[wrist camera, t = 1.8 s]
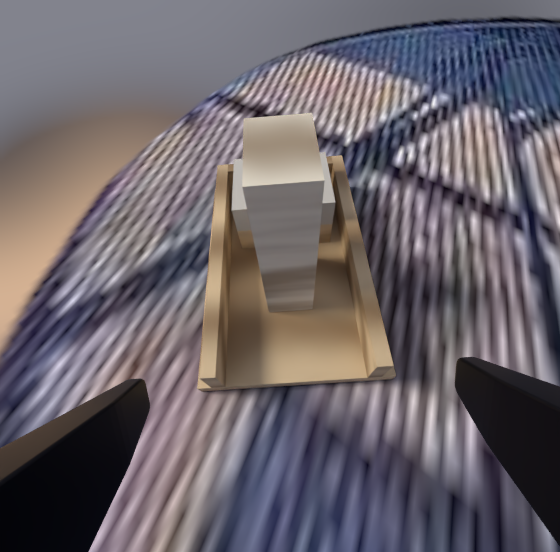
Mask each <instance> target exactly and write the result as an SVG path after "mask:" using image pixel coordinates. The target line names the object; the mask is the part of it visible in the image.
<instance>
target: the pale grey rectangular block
mask: <svg viewBox="0 0 560 552" xmlns="http://www.w3.org/2000/svg"><path fill="white" fill-rule="evenodd" d="M324 181H325V180H324V175H323V169H322V164H321V159H320V153H319V148H318V143H317V137H316V132H315V127H314V121H313V116H312V113H306V114H294V115H282V116H270V117H258V118H246V119H244V128H243V174H242V188H243V193H244V198H245V202H246V207H247V212H248V216H249V221H250V226H251V230H252V235H253V240H254V245H255V249H256V254H257V259H258V263H259V268H260V273H261V278H262V282H263V287H264V292H265V296H266V301H267V306H268V311H269V312H281V311H295V310H309V309H313V300H314V289H315V278H316V267H317V257H318V246H319V235H320V224H321V214H322V203H323V192H324Z"/></svg>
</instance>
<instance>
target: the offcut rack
mask: <svg viewBox="0 0 560 552" xmlns="http://www.w3.org/2000/svg"><path fill="white" fill-rule="evenodd" d="M326 158H327V163H328V168H329V173H330V178H331V183H332V188H333V193H334V198H335V209H334V216H333V223H332V230H331V237H330V242H327V243H319V246H318V257H317V267H316V278H315V289H314V300H313V309H309V310H295V311H281V312H269V311H268V306H267V301H266V296H265V292H264V287H263V282H262V278H261V273H260V268H259V263H258V259H257V254H256V249H255V248H246V249H242V246H241V243H240V239H239V235H238V232H237V228H236V224H235V221H234V217H233V214H232V190H233V168H234V164H230V165H218V169H217V181H216V190H215V196H214V208H213V219H212V230H211V241H210V253H209V264H208V275H207V286H206V298H205V309H204V320H203V331H202V343H201V354H200V365H199V377H198V388H197V389H199V390H200V391H214V390H230V389H245V388H261V387H276V386H292V385H307V384H323V383H338V382H354V381H369V380H385V379H393V378H394V377H396V373H395V369H394V365H393V361H392V357H391V352H390V348H389V344H388V340H387V336H386V332H385V328H384V324H383V320H382V316H381V312H380V308H379V304H378V300H377V296H376V292H375V288H374V284H373V280H372V275H371V271H370V267H369V263H368V259H367V255H366V251H365V247H364V243H363V239H362V235H361V231H360V227H359V223H358V219H357V215H356V211H355V207H354V202H353V198H352V194H351V190H350V186H349V182H348V179H347V175H346V171H345V167H344V163H343V158H342V156H329V157H326Z"/></svg>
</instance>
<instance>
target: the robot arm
mask: <svg viewBox="0 0 560 552" xmlns="http://www.w3.org/2000/svg"><path fill="white" fill-rule="evenodd" d="M455 388H456V391H457V393H458V395H459V397H460V399H461V400H462V402H463V404H464V405H465V407H466V409H467V411H468V412H469V414H470V416H471V418H472V419H473V421H474V423H475V424H476V426H477V428H478V430H479V431H480V433H481V435H482V436H483V438H484V440H485V441H486V443H487V444H488V446H489V447H490V449H491V450H492V452H493V453H494V455H495V456H496V457H497V459H498V460H499V462H500V463H501V464H502V466H503V467H504V469H505V470H506V471H507V473H508V474H509V476H510V477H511V478H512V480H513V481H514V483H515V484H516V485H517V487H518V488H519V490H520V491H521V493H522V494H523V495H524V497H525V498H526V500H527V501H528V502H529V504H530V505H531V507H532V508H533V509H534V511H535V512H536V514H537V515H538V516H539V518H540V519H541V521H542V522H543V523H544V525H545V526H546V528H547V529H548V530H549V532H550V533H551V535H552V536H553V537H554V539H555V540H556V542H557V543H558V545H559V546H560V387H559V386H556V385H553V384H551V383H548V382H545V381H542V380H539V379H536V378H533V377H530V376H527V375H525V374H522V373H519V372H516V371H513V370H510V369H507V368H504V367H502V366H499V365H496V364H493V363H490V362H487V361H484V360H481V359H479V358H476V357H464V358H459V359H458V360H457V363H456V375H455ZM149 409H150V402H149V397H148V393H147V388H146V384H145V381H144V380H143V379H129V380H126V381H125V382H123V383H121V384H119V385H117V386H115V387H113V388H112V389H110V390H108V391H106V392H104V393H102V394H100V395H98V396H97V397H95V398H93V399H91V400H89V401H87V402H85V403H84V404H82V405H80V406H78V407H76V408H74V409H72V410H71V411H69V412H67V413H65V414H63V415H61V416H59V417H58V418H56V419H54V420H52V421H50V422H48V423H46V424H45V425H43V426H41V427H39V428H37V429H35V430H33V431H31V432H30V433H28V434H26V435H24V436H22V437H20V438H18V439H17V440H15V441H13V442H11V443H9V444H7V445H5V446H4V447H2V448H0V552H88V551H89V549H90V547H91V545H92V543H93V541H94V539H95V537H96V535H97V532H98V530H99V528H100V526H101V524H102V522H103V520H104V518H105V516H106V514H107V511H108V509H109V507H110V505H111V503H112V501H113V499H114V497H115V495H116V492H117V490H118V488H119V486H120V484H121V482H122V480H123V478H124V476H125V474H126V471H127V469H128V467H129V465H130V462H131V460H132V457H133V455H134V452H135V449H136V446H137V443H138V441H139V438H140V435H141V432H142V430H143V427H144V424H145V421H146V419H147V416H148V413H149Z"/></svg>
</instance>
